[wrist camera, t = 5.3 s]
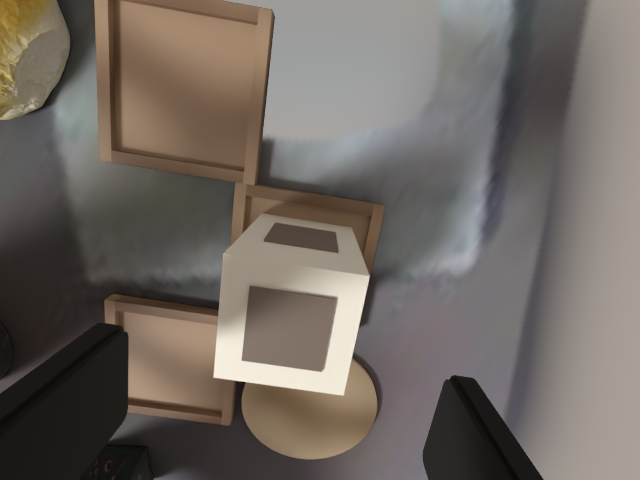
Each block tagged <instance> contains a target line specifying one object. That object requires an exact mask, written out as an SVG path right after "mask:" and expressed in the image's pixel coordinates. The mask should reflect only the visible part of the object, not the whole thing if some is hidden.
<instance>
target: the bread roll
mask: <svg viewBox="0 0 640 480" xmlns="http://www.w3.org/2000/svg"><path fill="white" fill-rule="evenodd" d="M69 50H70V35H69V31H68V28H67V25H66V22H65V20H64V17H63V15H62V13H61V11H60V8H59V5H58V2H57V0H0V120H9V119H13V118H16V117H19V116H22V115H25V114H27V113H29V112H31V111H33V110H35V109H38V108H40V107H41V106H42V105H43V104H44V102H45V101H46V99H47V98H48V96H49V94H50V93H51V91H52V89H53V88H54V87H55V86H56V85H57V84H58V82H59V80H60V78H61V75H62V73H63V71H64V68H65V64H66V61H67V59H68V55H69Z"/></svg>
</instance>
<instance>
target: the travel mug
mask: <svg viewBox="0 0 640 480" xmlns="http://www.w3.org/2000/svg"><path fill="white" fill-rule="evenodd" d="M12 358H13V348H12V343H11V340H10V337H9V335H8V333H7V331H6V329H5V328H4V326H3V325H2V323H1V322H0V379H1V378H2V377H3V376H4V375H5V374H6V373H7V371H8V370H9V368H10V366H11V363H12Z"/></svg>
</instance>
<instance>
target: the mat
mask: <svg viewBox="0 0 640 480" xmlns="http://www.w3.org/2000/svg"><path fill="white" fill-rule="evenodd" d="M241 405H242V413H243V416H244V419H245V422H246V424H247V426H248V427H249V429H250V431H251V432H252V433H253V434H254V436H255V437H256V438H257V439H258V440H259V441H260V442H262V443H263V444H264V445H266V446H267V447H268V448H270V449H272V450H274V451H276V452H278V453H280V454H283V455H286V456H289V457H293V458H299V459H322V458H328V457H332V456H335V455H338V454H341V453H343V452H345V451H347V450H349V449H351V448H352V447H354V446H355V445H356V444H358V443H359V442H360V441H361V440H362V439H363V438H364V437H365V436H366V435H367V433H368V432H369V431H370V429H371V427H372V425H373V423H374V420H375V418H376V413H377V397H376V391H375V388H374V385H373V382H372V380H371V378H370V376H369V375H368V373H367V372H366V370H365V369H364V368H363V367H362V366H361V365H360V364H359V363H358V362H357V361H356V360H354V359H353V358H352V360H351V364H350V369H349V373H348V378H347V382H346V387H345V391H344V396H342V395H335V394H328V393H321V392H314V391H306V390H299V389H292V388H285V387H278V386H271V385H263V384H256V383H249V382H246V384H245V386H244V389H243V394H242V404H241Z"/></svg>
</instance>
